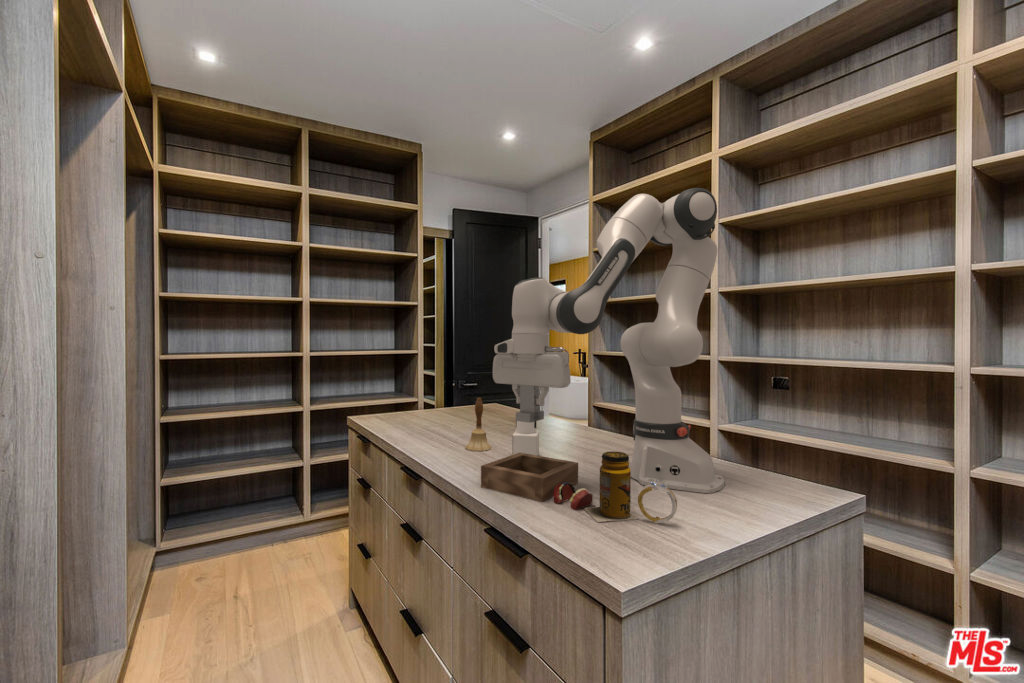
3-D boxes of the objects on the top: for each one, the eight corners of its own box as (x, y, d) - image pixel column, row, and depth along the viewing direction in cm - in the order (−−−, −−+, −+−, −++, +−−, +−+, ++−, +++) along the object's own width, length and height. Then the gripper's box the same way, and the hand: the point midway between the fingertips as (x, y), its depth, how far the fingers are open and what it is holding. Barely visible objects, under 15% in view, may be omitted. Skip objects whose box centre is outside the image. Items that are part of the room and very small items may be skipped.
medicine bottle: (515, 453, 144) (515, 413, 144) (539, 454, 143) (539, 414, 143) (512, 459, 137) (512, 417, 137) (537, 460, 136) (537, 418, 136)
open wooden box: (578, 483, 115) (578, 462, 115) (542, 501, 102) (543, 478, 102) (519, 471, 125) (519, 452, 125) (480, 487, 112) (480, 465, 112)
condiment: (638, 519, 92) (639, 457, 92) (597, 523, 90) (598, 459, 90) (621, 506, 99) (622, 448, 99) (583, 509, 98) (583, 450, 97)
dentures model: (579, 491, 96) (550, 482, 102) (578, 512, 96) (550, 502, 102) (596, 486, 100) (568, 478, 106) (596, 507, 100) (567, 497, 106)
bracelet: (678, 524, 90) (678, 481, 90) (673, 530, 87) (673, 486, 87) (641, 516, 94) (642, 475, 94) (636, 521, 91) (636, 479, 91)
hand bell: (497, 448, 151) (497, 397, 151) (477, 452, 145) (477, 400, 145) (479, 444, 157) (479, 395, 157) (459, 448, 151) (460, 397, 151)
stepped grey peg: (543, 419, 115) (543, 381, 115) (529, 422, 110) (529, 383, 110) (530, 417, 117) (530, 380, 117) (515, 420, 112) (515, 382, 112)
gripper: (575, 346, 110) (575, 406, 110) (504, 345, 122) (504, 399, 122) (561, 347, 105) (561, 410, 105) (488, 346, 117) (488, 402, 117)
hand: (530, 404), depth 114 cm, fingers closed on stepped grey peg, 4 cm apart
